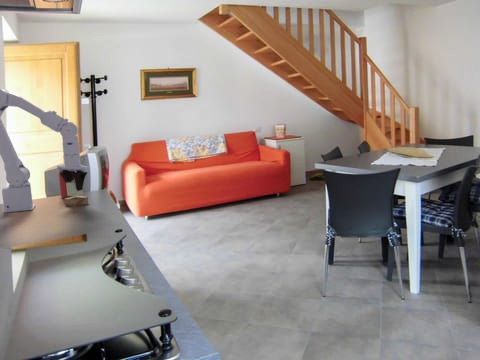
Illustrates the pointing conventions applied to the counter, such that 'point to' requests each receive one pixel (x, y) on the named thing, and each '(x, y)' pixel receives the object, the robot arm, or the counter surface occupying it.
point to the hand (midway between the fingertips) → (75, 189)
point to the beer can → (63, 186)
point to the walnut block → (76, 201)
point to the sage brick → (73, 189)
